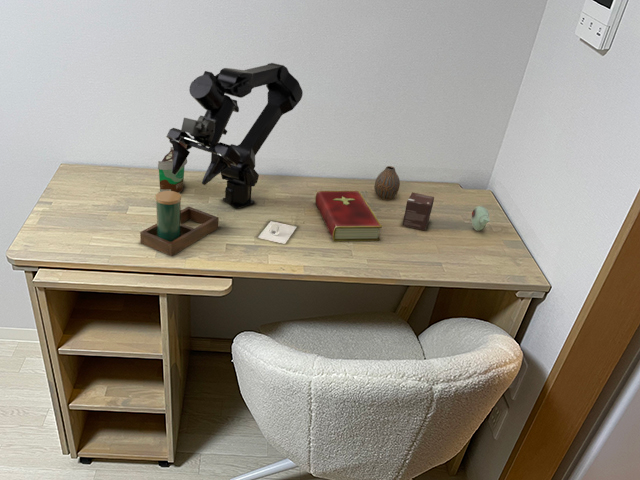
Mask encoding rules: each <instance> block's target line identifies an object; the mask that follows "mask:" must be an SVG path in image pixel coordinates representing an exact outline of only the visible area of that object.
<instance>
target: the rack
mask: <svg viewBox="0 0 640 480" xmlns="http://www.w3.org/2000/svg"><path fill="white" fill-rule="evenodd" d="M189 220H190V221H192V222H196V223H198V224H200V225H198V226H196V227H195V228H194V227H191V226H188V225H186V224H183V223H186V222H187V221H189ZM219 221H220V217H219V216H216V215H214V214H210V213H208V212H205V211H202V210H200V209H197V208H194V207H192V206H186V207H185V208H183V209H181V237H179V238H177V239H175V240H174V241H172V242H170V241H167V240H165V239H162V238H160V237H157V223H155V224H153V225H150V226H149V227H147V228H145V229H143V230H141V231H140V232H139V234H140V236H139V237H140V244H141V245H144V246H147V247H149V248H151V249H154V250H156V251H158V252H161V253H163V254H166V255H168V256H171V257H173V256H174V255H176V254H178V253H179V252H181V251H183V250H184V249H186V248H188V247H190V246H191V245H193V244H194V243H196V242H197V241H199V240H201V239H203V238H204V237H206V236H207V235H210V234H211V233H213V232H214V231H216V230H218V229H219Z"/></svg>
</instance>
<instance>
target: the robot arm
mask: <svg viewBox="0 0 640 480" xmlns="http://www.w3.org/2000/svg"><path fill="white" fill-rule="evenodd" d="M262 86H266V89H267V103H266V105H265V106H264V108H263V110H262V111H261V112H260V114H259V115H258V117H257V119H256V120H255V121H254V123H253V124H252V126H251V127H250V129H249V130H248V132H247V133H246V135H245V136H244V138H243V139H242V140H241V142H240V143H239V144H238V145H236V144H233V143H231V144H227V143H224V142H220V140H221V138H222V136H223V135H224V136H226V135H227V133H228V130H227V129H226V127H227V126H228V124H229V121H230V119H231V117H232V115H233V113H234V112H235V113H239V112H240V106H239V105H238V100H236V99H234V98H231V97H230V96H232V97H236V98H240V99H242V98H244V97H246V96H248V95H250V94H252V90H253V89H255V88H258V87H259V88H260V87H262ZM189 94H190V96H191V97H192V98H193V99H194V100H195V101H196V102H197V103H198V104H199V105H200V106H201V107H202V108H203V109H204V110H206V111H205V114H204V115H199V117H198V118H197V119H192V118H189V117H183V121H182V125H181V129H179V128H175V127H172V128H169V130H168V132H167V134H166V136H165V137H166V138H167V139H168V140H169V141H168V142H169V143H170V144H171V145H172V147H173V149H174V157H173V167H172V173H173V174H176V173H177V172H178V171H179V169H180V168H181V166H182V164H183V163H184V161H185V160H186V158H187V159H188V157H189V155H190V153H191V152H190V151H189V150H191V149H192V148H195V149H197V150H202V151H205V152H207V153H211V154H210V156H211V157H210V163H209V165H208V167H207V169H206V171H205V173H204V175H203V178H202V181H201V185H203V186H206V185H207V184H208V183H210V182H211V181H212V180H214V179H215V178H216V177H217V176H218V175H220V176H221V179H222V180H225V181H226V187H225V191H224V197H223V198H222V201H223V202H224V203H225V204H228V205H229V206H231V207H233V208H235V209H240V208H244V207H247V206H251V205H254V204H255V200H253V199H252V190H253V187H256V184H258V181H259V176H260V174H259V173H258V172H257V171H256V169H255V167H256V156H257V154H258V152H260V149H261V148H262V146H263V145H264V143H265V142H266V140H267V139H268V137H269V136H270V134H271V133H272V131H273V129H274V128H275V127H276V125H277V124H278V122H279V121H280V119H281V118H282V116H283V115H285V114H287V113H289V112H291V111H293V110H294V109H295V107H296V106H297V105H298V104H299V103H300V101H302V97H303V94H304V93H303V89H302V87H301V84H300V82H299V80H298V79H296V78H295V77H294V76H293V75H292V74H291V73H290V71H289V69H288V67H287V66H285V65H284V64H279V63H275V62H270V63H269V62H268V63H267V64H264V65H260V66H256V67H251V68H247V69H237V68H232V67H231V68H230V67H223V68H221V69H220V71H219V72H218V73H217V74H216V75H215V74H214V73H213V72H212V71H208V70H205V71H204V73H203V74H202V75H199V76H197V77H195V79H194V80H193V81H191V82H190V85H189Z"/></svg>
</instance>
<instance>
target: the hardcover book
mask: <svg viewBox="0 0 640 480" xmlns="http://www.w3.org/2000/svg"><path fill="white" fill-rule="evenodd" d="M314 197H315V198H314V202H315V205H316V207H317V209H318V211H319V213H320V215H321V217H322V219H323V222H324V224H325V226H326V227H327V229H328V232H329V234H330V236H331V239H332V240H333V242H379V241H380V237H379V233H380V229H382V228H383V225H382V224H381V222H380V220H379V219H378V218H377V216H376V215H375V213H374V212H373V210H372V208H371V207H370V205H369V204H368V203H367V201H366V199H365V198H364V196H363V194H362V192H360V190H317V191H316V193H315V196H314Z"/></svg>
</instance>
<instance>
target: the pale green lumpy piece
mask: <svg viewBox="0 0 640 480" xmlns="http://www.w3.org/2000/svg"><path fill="white" fill-rule="evenodd" d="M470 219H471V224H472V227H473V229H474V230H475V231H476V232H477V231H478V232H479V231H481V230H483V229H484V228H485V226H486V225H487V224H489V223H490V222H491V220H490V212H489V210H488V209H487V208H486V207H485V206H484V205H478V206H476V207H475V208H473V210H472V212H471V218H470Z"/></svg>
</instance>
